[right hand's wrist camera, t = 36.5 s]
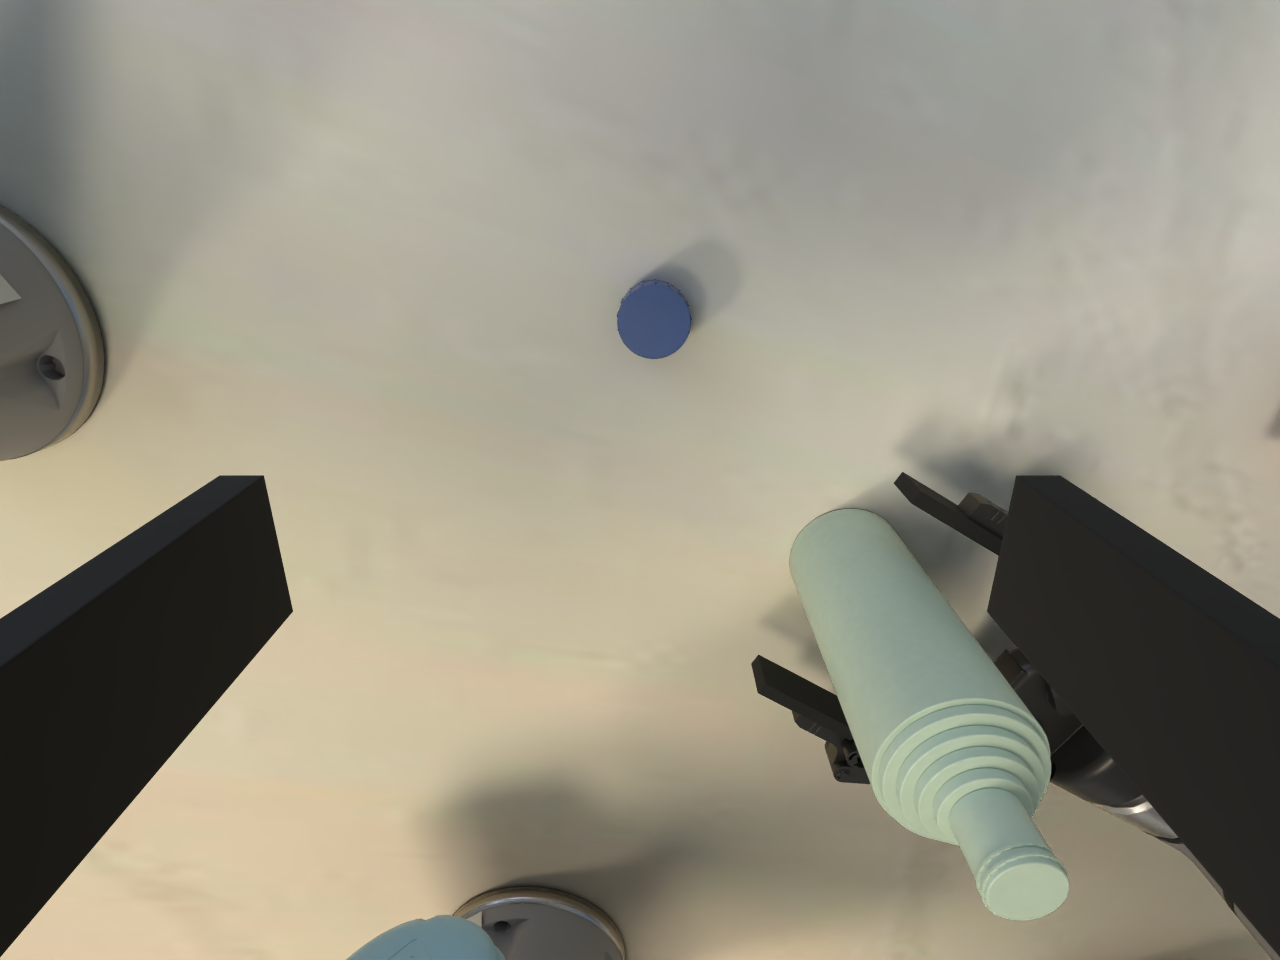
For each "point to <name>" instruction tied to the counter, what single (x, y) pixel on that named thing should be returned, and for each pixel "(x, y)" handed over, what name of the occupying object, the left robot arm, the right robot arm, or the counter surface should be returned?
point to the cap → (654, 319)
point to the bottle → (929, 709)
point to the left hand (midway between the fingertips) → (827, 585)
